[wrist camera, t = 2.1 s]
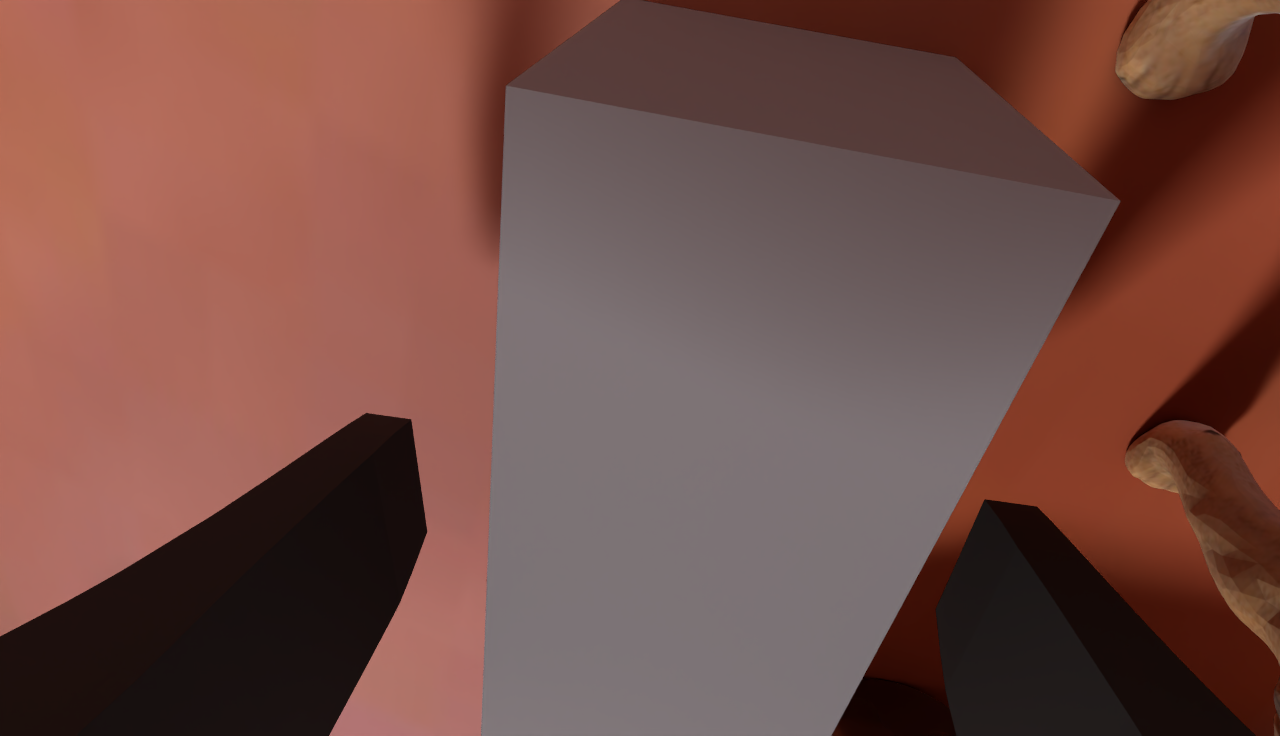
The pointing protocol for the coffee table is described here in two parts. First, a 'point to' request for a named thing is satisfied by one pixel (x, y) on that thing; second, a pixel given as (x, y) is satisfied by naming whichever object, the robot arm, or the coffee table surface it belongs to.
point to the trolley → (893, 712)
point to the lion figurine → (1183, 450)
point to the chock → (747, 361)
